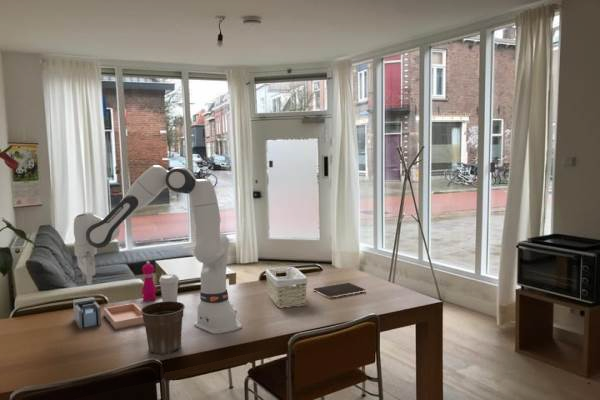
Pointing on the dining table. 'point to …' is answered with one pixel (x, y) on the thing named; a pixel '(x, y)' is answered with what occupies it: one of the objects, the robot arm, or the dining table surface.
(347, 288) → the hardcover book
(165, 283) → the coffee cup
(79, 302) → the bay
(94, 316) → the small pale blue carton
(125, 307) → the tray
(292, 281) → the storage basket
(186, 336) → the dining table surface
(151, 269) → the pepper mill
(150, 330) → the plant pot
